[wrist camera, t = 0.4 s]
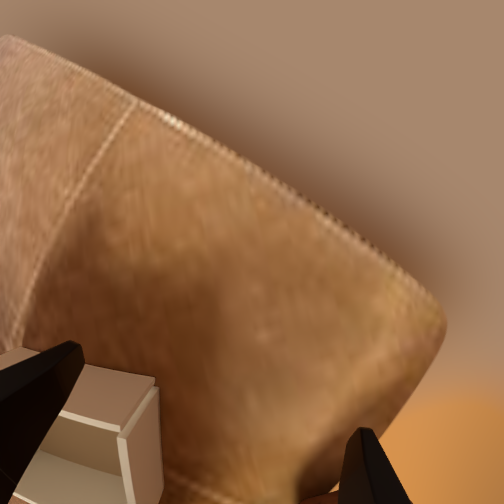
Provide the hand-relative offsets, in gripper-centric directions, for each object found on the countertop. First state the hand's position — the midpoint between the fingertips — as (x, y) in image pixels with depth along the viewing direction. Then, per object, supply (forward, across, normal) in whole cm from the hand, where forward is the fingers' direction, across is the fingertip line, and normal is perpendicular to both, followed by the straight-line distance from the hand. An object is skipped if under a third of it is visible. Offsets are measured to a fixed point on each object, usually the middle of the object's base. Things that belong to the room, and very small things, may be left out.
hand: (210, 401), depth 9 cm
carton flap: (+8, +13, +13) cm, 20 cm away
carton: (+6, +12, +18) cm, 22 cm away
